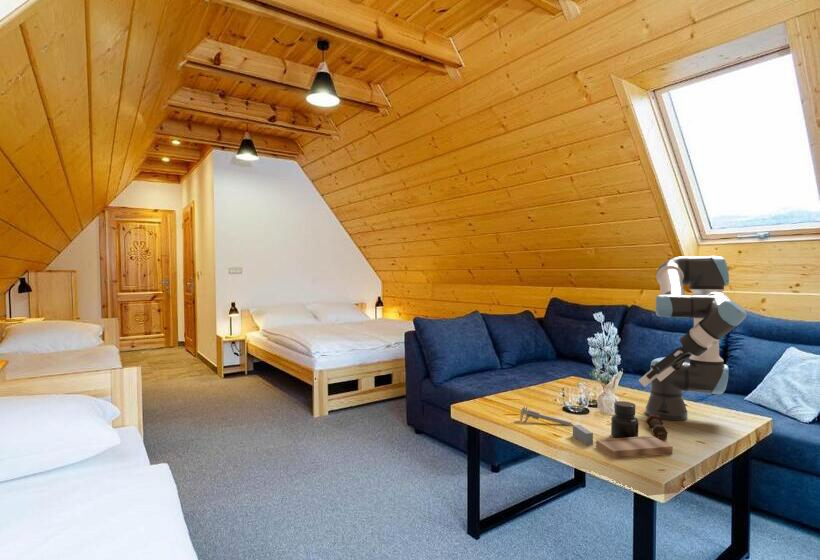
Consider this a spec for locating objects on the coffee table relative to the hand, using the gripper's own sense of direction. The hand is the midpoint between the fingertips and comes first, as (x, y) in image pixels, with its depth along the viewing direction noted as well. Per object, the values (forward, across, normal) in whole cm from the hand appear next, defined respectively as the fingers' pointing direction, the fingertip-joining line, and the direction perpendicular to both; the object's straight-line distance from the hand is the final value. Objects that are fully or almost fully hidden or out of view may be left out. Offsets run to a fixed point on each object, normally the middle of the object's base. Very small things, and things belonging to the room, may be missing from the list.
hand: (649, 380), depth 163 cm
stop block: (+28, -13, -2) cm, 31 cm away
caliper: (+41, -5, +11) cm, 43 cm away
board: (+17, -9, -14) cm, 24 cm away
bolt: (+17, +13, -14) cm, 25 cm away
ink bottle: (+22, +1, -9) cm, 24 cm away
